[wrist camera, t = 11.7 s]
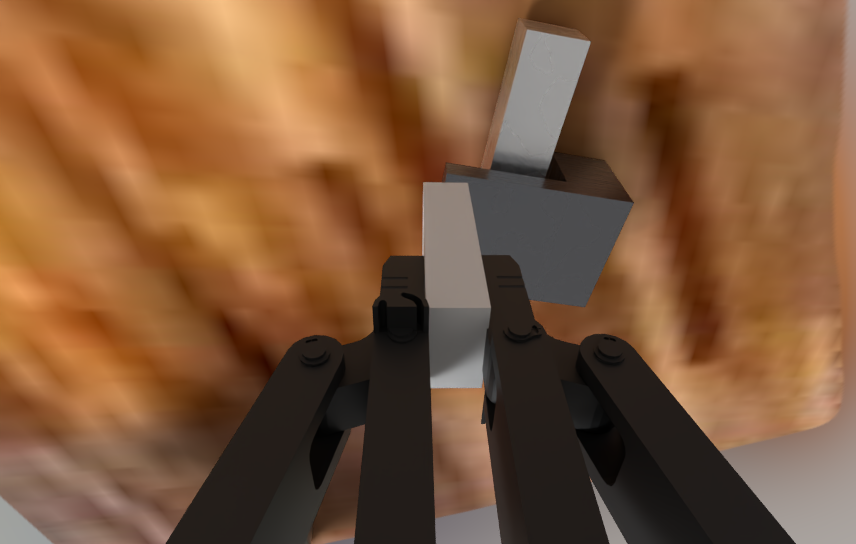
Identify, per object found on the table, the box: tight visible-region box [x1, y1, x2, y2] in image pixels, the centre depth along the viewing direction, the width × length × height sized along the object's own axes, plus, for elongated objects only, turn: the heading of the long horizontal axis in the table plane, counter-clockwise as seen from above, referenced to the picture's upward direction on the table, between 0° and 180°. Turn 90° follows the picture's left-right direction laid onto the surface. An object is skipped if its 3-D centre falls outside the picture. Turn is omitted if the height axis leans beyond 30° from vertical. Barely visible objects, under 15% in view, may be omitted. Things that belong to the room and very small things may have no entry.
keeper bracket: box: [442, 152, 634, 307], centre depth 36 cm, size 16×11×6 cm
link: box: [481, 18, 591, 178], centre depth 34 cm, size 22×5×3 cm, turn 170°
